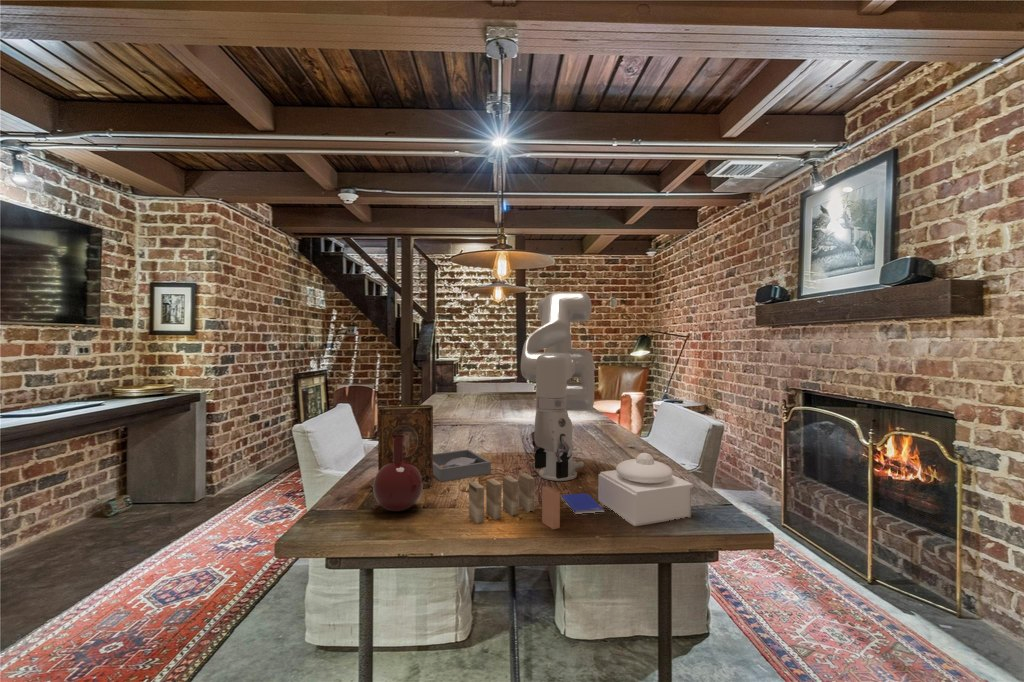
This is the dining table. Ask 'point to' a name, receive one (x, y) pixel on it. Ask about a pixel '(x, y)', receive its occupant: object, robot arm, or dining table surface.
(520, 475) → the domino
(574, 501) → the hard drive
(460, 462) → the stone block
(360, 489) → the dining table surface
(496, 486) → the domino
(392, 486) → the round-bottom flask
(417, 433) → the book
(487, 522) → the dining table surface
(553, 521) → the domino
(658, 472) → the butter dish
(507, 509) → the domino
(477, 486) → the domino
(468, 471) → the slate frame
